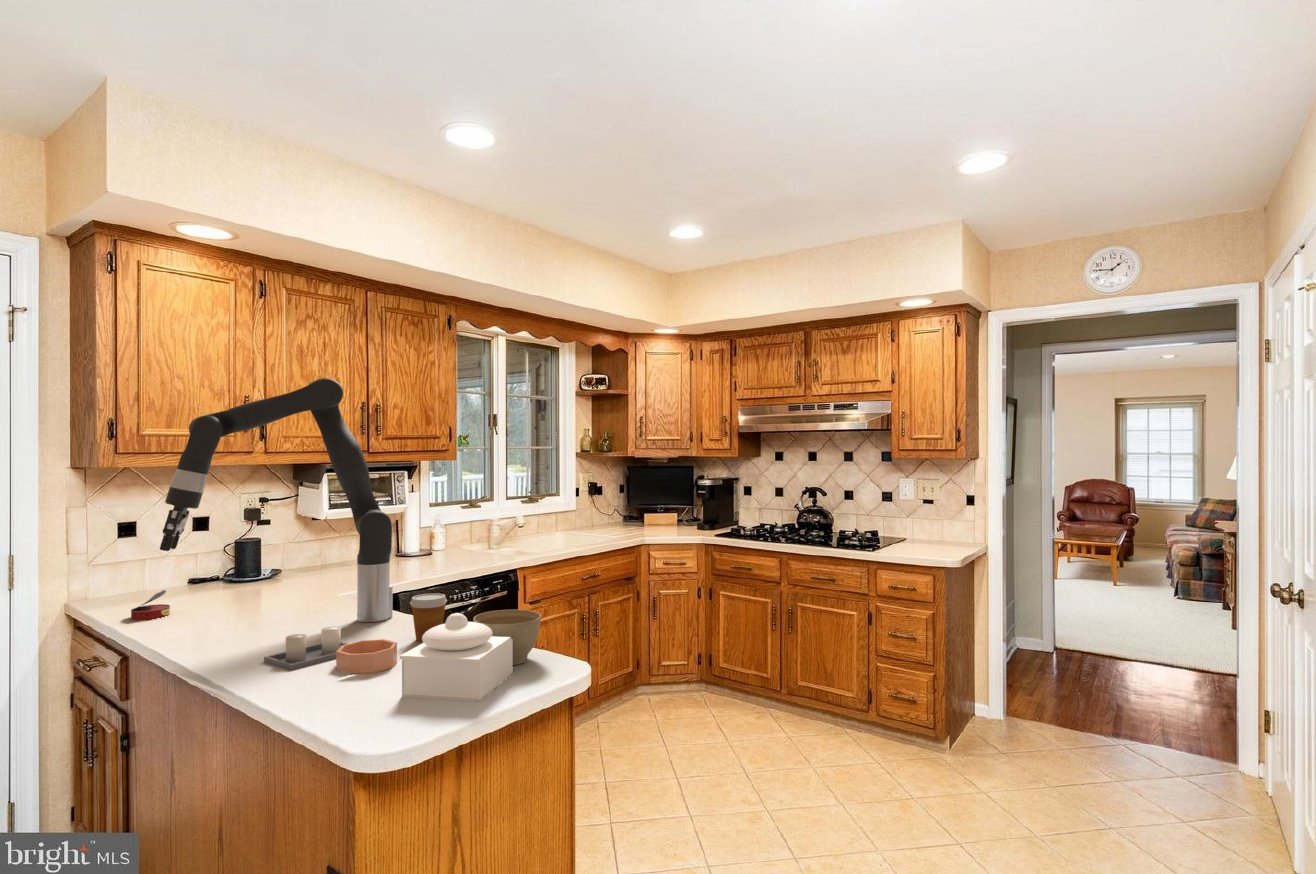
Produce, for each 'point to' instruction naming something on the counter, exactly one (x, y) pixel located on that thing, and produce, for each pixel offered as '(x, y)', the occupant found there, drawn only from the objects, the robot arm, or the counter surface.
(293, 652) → the grey cylinder
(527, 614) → the planter bowl
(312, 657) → the parts tray
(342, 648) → the terracotta bowl
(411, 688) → the white lidded box
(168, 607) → the canned food
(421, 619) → the disposable coffee cup
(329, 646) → the white cylinder
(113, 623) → the counter surface
